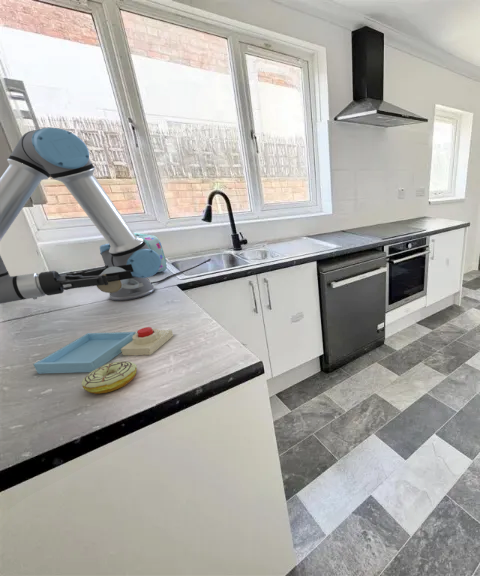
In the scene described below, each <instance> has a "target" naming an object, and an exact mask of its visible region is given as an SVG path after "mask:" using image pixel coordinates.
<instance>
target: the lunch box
mask: <svg viewBox="0 0 480 576" xmlns="http://www.w3.org/2000/svg"><path fill="white" fill-rule="evenodd" d="M133 233H134V234H135V236H136V237H139V238H142V239H143V240H144V241H145V243H146V244H147V246H148V247H149V249H151V250H154V251H155V252H156V253H157V254H158V255H159V256H160V258H161V266H160V269H159V270H158V272H157V273H160V272H164V271H166V270H167V260H166V257H165V252H164V249H163V246H162V243H161V240H160V239H159V237H157V236H156V235H153V234H146V233H137V232H133Z"/></svg>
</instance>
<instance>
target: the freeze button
mask: <svg viewBox="0 0 480 576" xmlns="http://www.w3.org/2000/svg"><path fill="white" fill-rule="evenodd" d="M152 329H153V327H151V326H146V327H142V328H139V329H137V330H136V331H137V332H136V333H138V336H139V337H146V336H149V335H152V334H153V330H152Z"/></svg>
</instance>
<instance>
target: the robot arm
mask: <svg viewBox="0 0 480 576" xmlns="http://www.w3.org/2000/svg"><path fill="white" fill-rule="evenodd" d="M6 161H7V162H8V166H7V168H6V169H5V170H4V171H3V174H2V175H1V176H0V242H1V241H2V239H3V238H4V236H5V234H6V233H7V232H8V230H9V229H10V227H11V226H12V225H13V223H14V222H15V220H16V219H17V217H18V215H19V214H20V213H21V211H23V208H24V207H25V205H26V204H27V202H28V201H29V199H30V198H31V197H32V195H33V194H34V192H35V191H36V189H37V188H38V186H39V185H40V183H41V182H42V181H43V180H49V178H50V177H51V178H52V180H54V181H58V182H61V183H62V184H63V185H64V186H65V188H66V189H67V190H68V192H69V193H70V194H71V196H72V197H73V198H74V200H75V201H76V202H77V204H78V205H79V207H80V208H81V209H82V210H83V212H84V213H85V214H86V216H87V217H88V218H89V220H90V221H91V223H93V226H95V227H96V229H97V230H98V231H99V233H100V234H101V235H102V237H103V238H104V239H105V241H106V242H107V243H105V244H101V245H100V246H99V251H100V255H101V258H102V261H103V264H104V266H99V267H94V268H88V269H82V270H77V271H75V270H74V271H70V272H68V273H66V274H65V275H60V274H59V272H58V271H56V270H48V271H42V272H39V273H37V272H34V273H33V272H32V273H26V274H19V275H13V276H11V275H10V273H9V271H8V269H7V267H6V264H5V262H4V261H3V258H2V256H1V255H0V304H6V303H11V302H17V301H22V300H23V301H24V300H28V299H32V300H37V299H38V298H41V297H45V296H54V295H60V294H63V293H64V292H65V291H68V290H72V289H79V288H89V287H97V286H98V285H104V284H105V285H108V282H112V281H118V280H125V279H134V280H136V281H138V282H139V285H138V287H137V288H135V289H125V288H122V289H120V290H119V291H117V292H114V293H108V294H109V298H110V300H112V301H116V302H117V301H118V302H119V301H131V300H135V299H139V298H143V297H146V296H148V295H151V294H153V293H154V292H155V288H154V285H153V284H159V283H161V282H164V281H166V280H167V279H170V278H172V277H174V276H178V275H180V274H183V273H185V272H188V271H190V270H193V269H195V268H198V267H199V266H202V265H204V264H206V263H207V262H209V261H211V260H212V258H208V259H207V260H204V261H203V262H201V263H199V264H196V265H195V266H192V267H189V268H187V269H184V270H182V271H179V272H176V273H173V274H170V275H168V276H167V277H165V278H162V279H160V280H155V281H152V282H151V281H150V280H149V279H148V278H150V277H153V276H154V275H156V274H158V273H159V272H158V270H159V269H160V266H161V258H160V256H159V255H158V254H157V253H156V252H155V251H154V250H151V249H149V247H148V246H147V244H146V243H145V241H144V240H143V239H142V238H139V237H136V236H135V234H134V233H135V232H133V230H132V229H131V227H130V225H129V224H128V223H127V222H126V220H125V218H124V217H123V216H122V214H121V212H120V210H118V208H117V206H116V205H115V204H114V202H113V201H112V199H111V198H110V196H109V195H108V193H107V192H106V191H105V189H104V188H103V186H102V185H101V183H100V182H99V180H98V178H97V177H96V176H95V171H96V167H95V165H94V163H92V161H91V160H90V151H89V147H88V146H87V144H86V143H85V142H84V141H83V139H81V138H80V137H79V136H77V135H76V133H73V132H70V131H69V130H66V129H63V128H58V127H50V126H49V127H43V128H38V129H34V130H29V131H27V132H25V133H24V134H23V135H22V136H21V137H20V138H19V140H18V141H17V144H16V145H15V147H14V149H13V150H12V152H11V154H10V155H9V157H7V159H6ZM22 163H23V164H22ZM109 267H120V268H122V269H124V270H126V271H122V272H115V273H109V274H106V276H105V275H100V274H101V273H102V272H103V271H104V270H105V269H107V268H109ZM107 281H108V282H107ZM126 285H135V284H133V283H129V282H128V284H126Z"/></svg>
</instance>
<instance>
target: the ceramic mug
mask: <svg viewBox="0 0 480 576" xmlns="http://www.w3.org/2000/svg"><path fill="white" fill-rule="evenodd" d="M122 271H126V270H124V269H122V268H120V267H109V268H107V269H105V270H104V271H103V272H102V273H101V274H100V275H105V276H106V274H109V273H115V272H122ZM107 282H108V281H107ZM128 282H129V283H133V284H135V285H126V284H128ZM138 285H139V282H138V281H136V280H134V279H125V280H118V281H112V282H108V285H105V284H104V285H98V286H96V288H97V289H98V290H99V291H101V292H103V293H106V294H109V293H114V292H117V291H119V290H120V289H122V288H125V289H135V288H137V287H138Z"/></svg>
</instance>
